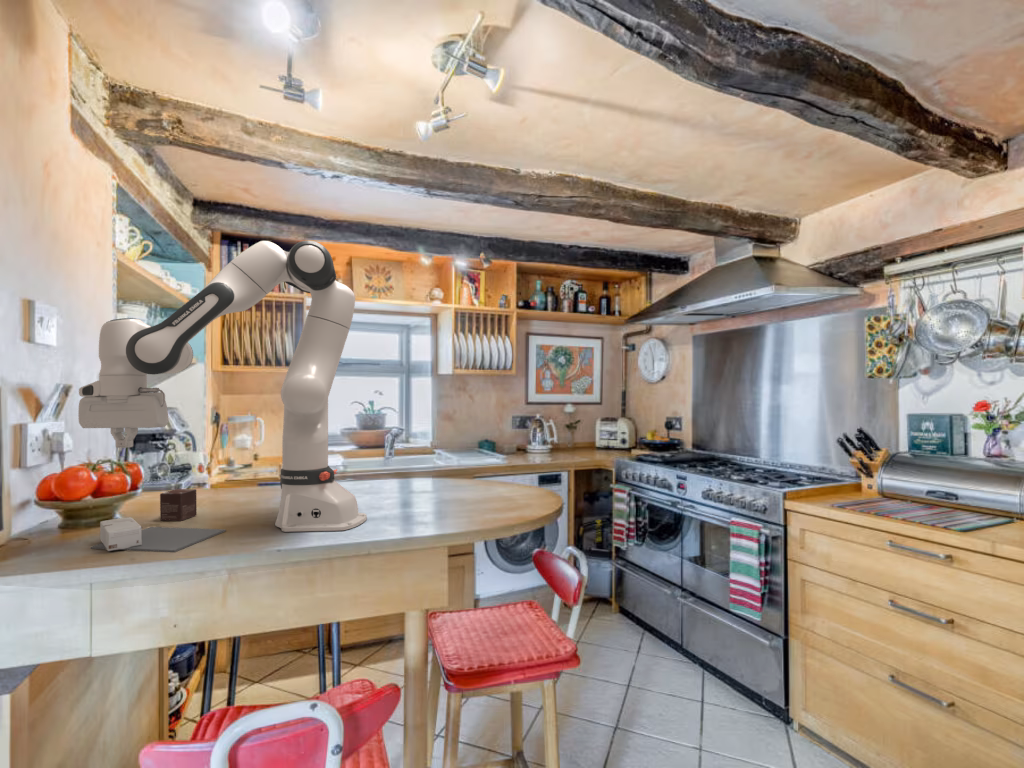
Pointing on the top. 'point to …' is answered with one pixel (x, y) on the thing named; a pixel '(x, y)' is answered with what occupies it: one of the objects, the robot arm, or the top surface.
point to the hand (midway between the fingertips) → (124, 447)
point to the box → (178, 505)
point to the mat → (169, 538)
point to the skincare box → (120, 533)
